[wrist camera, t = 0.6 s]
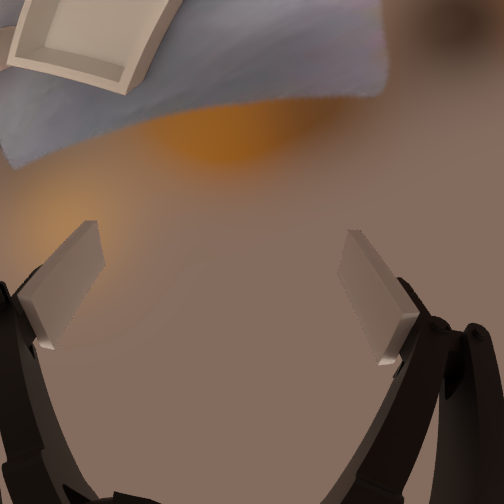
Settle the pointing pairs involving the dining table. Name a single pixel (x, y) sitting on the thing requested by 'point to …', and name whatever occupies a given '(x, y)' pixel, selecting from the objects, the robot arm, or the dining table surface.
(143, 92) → the dining table surface
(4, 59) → the cylindrical container
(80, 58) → the beige bin
